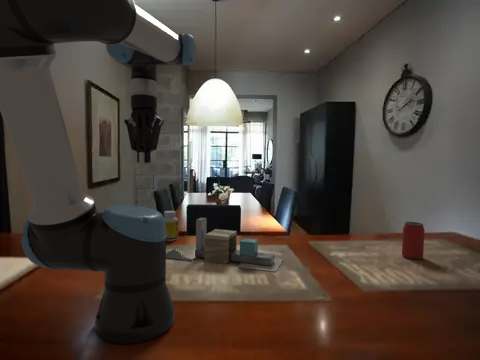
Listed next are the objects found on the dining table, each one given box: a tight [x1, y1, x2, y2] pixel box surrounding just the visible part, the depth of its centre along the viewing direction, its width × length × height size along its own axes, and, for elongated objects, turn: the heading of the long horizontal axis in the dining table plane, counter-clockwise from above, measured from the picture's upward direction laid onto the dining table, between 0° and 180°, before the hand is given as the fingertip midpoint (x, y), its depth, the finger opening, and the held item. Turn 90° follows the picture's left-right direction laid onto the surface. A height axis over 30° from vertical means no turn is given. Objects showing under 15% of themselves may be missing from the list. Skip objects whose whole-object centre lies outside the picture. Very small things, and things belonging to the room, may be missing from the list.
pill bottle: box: [163, 210, 179, 242], centre depth 128 cm, size 6×6×12 cm
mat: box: [237, 257, 284, 273], centre depth 100 cm, size 12×12×1 cm
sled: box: [195, 217, 276, 266], centre depth 103 cm, size 5×26×12 cm, turn 72°
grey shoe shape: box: [166, 247, 194, 262], centre depth 109 cm, size 12×12×1 cm
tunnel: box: [204, 228, 238, 264], centre depth 104 cm, size 9×8×9 cm
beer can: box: [401, 221, 425, 261], centre depth 109 cm, size 7×7×12 cm
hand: (143, 173), depth 96 cm, fingers closed
